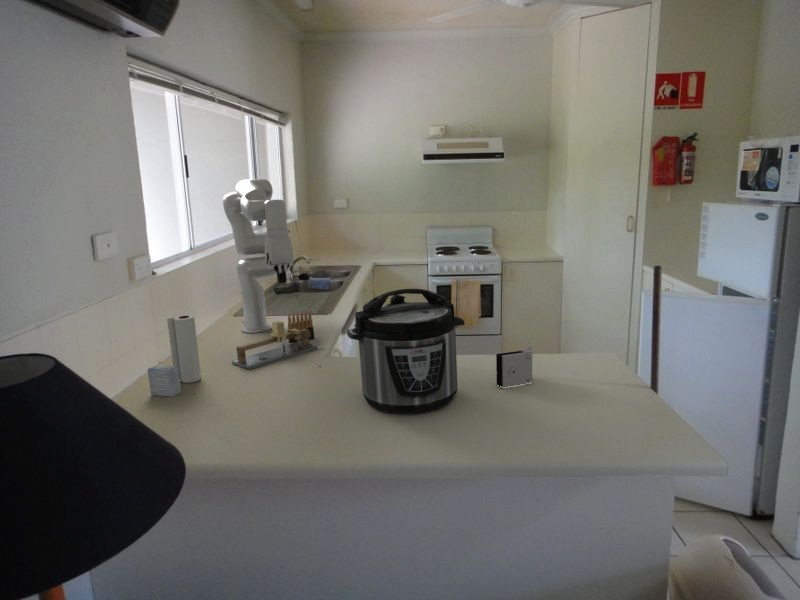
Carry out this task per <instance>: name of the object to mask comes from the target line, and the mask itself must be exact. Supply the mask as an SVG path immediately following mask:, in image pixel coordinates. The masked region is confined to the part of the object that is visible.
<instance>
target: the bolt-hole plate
mask: <svg viewBox="0 0 800 600" xmlns="http://www.w3.org/2000/svg"><path fill="white" fill-rule="evenodd" d="M300 345H301V348H298V342H296V343H292V344H290V343H288V344H285V352H283V350H282V346H279V347H276V348H273V349H269V350H266V351H265V350H264V351H261V352H258V353H255V354H250V355H246V362H245V363H242V364H241V363H238V358H237V359H233V360H231V363H232V364H231V365H234V366H237V367H241V368H244V369H246V370H249V371H250V370H254V369H256V368H260V367H262V366H266V365H269V364H273V363H276V362H280V361H283V360H286V359H289V358H292V357H295V356H299V355H303V354H305V353H309V352H313V351H316V350H318V349H319V347H318V345H316V344H315V345H314V344H311V343H309V344H307V345H303V344H302V341H301V342H300Z"/></svg>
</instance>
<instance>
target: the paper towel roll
mask: <svg viewBox="0 0 800 600" xmlns="http://www.w3.org/2000/svg"><path fill="white" fill-rule="evenodd" d="M166 321H167V322H166V323H167V329H168V337H169V343H170V344H169V345H170V350H171V351H170V352H171V361H172V366H178V373H179V380H180V381H181V382H182V383H185V384H190V383H191V384H192V383H195V382H198V381H200V380H202V374H201V372H202V371H201V367H200V365H201V364H200V357H199V348H198V338H197V331H196V323H195V316H194V315H189V314H187V315H179V316H174V317H171V318H166Z"/></svg>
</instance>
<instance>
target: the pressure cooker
mask: <svg viewBox="0 0 800 600" xmlns="http://www.w3.org/2000/svg"><path fill="white" fill-rule="evenodd" d="M404 294H408V295H409V294H410V295H411V294H412V295H413V294H415V295H422V296H423V297H424V299H425V300H426V301H425V302H423V301H421V302H419V301H418V302H417V301H416V302H412V301H411V302H407V301H405V298H406V296H403V295H404ZM389 297H390V301H389V303H388V304H385V303H386V301H387V300H388V298H389ZM354 317H355V324H354V325H353V326H354V327H353V328H350V329H347V331H346V335H347V337H348V338H349V339H350V340H355V341H358V348H359V359H360V360H359V363H360V376H361V387H362V390H361V391H362V394H363V397H364V399H365V400H366V402H367V404H368V405H370V406H371V407H373V408H375V409H377V410H379V411H382V412H385V413H386V412H387V413H391V414H392V413H393V414H420V413H426V412H430V411H435V410H438V409H440V408H442V407H445V406H447V405H448V404H449V403H451V402H452V401H453V399H454V398H455V396H456V394H457V393H458V369H457V368H458V366H457V362H458V361H457V338H456V336H457V335H456V327H458V326H461V327H462V326H465V325H466V324H465V320H464V319H462V318H461V317H458V316H455V306H454V304H453V303H452V302H451V301H447V299H446V297H444V296H442V294H439V293H437V292H435V291H431V290H428V289H421V288H402V289H396V290H392V291H391V290H390V291H387V292H385V293H382V294H379V295H377V296H376V297H374V298H372V299H370V300H369V301H368V302H366V303H365V304H364V305H363V306H362V310H360V311H356V312H355V313H354Z"/></svg>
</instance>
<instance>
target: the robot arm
mask: <svg viewBox="0 0 800 600" xmlns="http://www.w3.org/2000/svg"><path fill="white" fill-rule="evenodd" d="M273 193H274V192H273V186H272V184H271V182H270V181H269V180H268V179H266V178H254V179H253V178H252V179H250V178H249V179H243V180H240V181H238V182H237V184H236V186H235V191H232V192H229V193H227V194H225V195H224V196H223V199H222V206H223V211H224V214H225V216H226V218H227V220H228V222H229V223H230V226H231V229H232V235H233V239H234V244H235V245H234V246H235V248H236V251H237V253H238V255H240V256H242V257H247V258H242V259H240V260H239V261H238V262H237V264H236V271H237V276H238V280H239V284H240V285H239V286H240V290H241V291H240V293H241V299H242V300H241V302H242V310H243V311H242V313H243V320H241V323H242V324H244V325H243V326H242V327H241V328H240V329H241V332H242V333H246V334H257V333H263V332H267V331H269V330H271V329H272V325H271V324H269V323H268V320H267V319H268V318H267V310H266V299H265V290H264V287H263V286H262V285H261V283H259V282H258V281H259V280H263V279H264V280H265V279H271V278H276V280H277V282H278V283H277V284H286V283H287V272H288V269H289V268H290V267H292V266H294V259H295V258H294V249H293V244H292V240H291V237H290V236H289V234H290V233H291V230H290V229H289V228H288V221H287V210H286V203H285V201H284V200H283V199H272V196H273ZM259 221H265V226H266V227H265V228H266V232H254V229H253V223H252V222H259ZM259 255H260V256H259ZM261 255H262V256H261ZM249 256H253V257H249ZM254 256H255V257H254ZM258 256H259V257H258ZM248 257H249V258H248Z"/></svg>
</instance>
